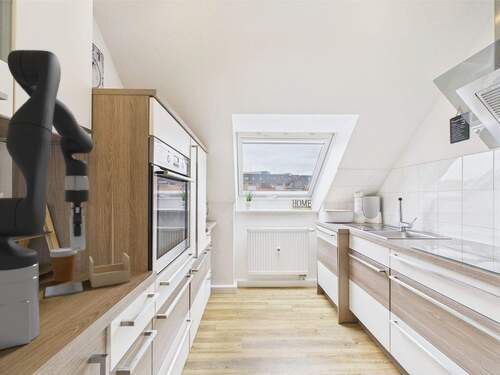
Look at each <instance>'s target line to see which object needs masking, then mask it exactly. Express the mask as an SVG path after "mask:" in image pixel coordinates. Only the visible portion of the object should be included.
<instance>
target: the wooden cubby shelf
mask: <svg viewBox="0 0 500 375" xmlns="http://www.w3.org/2000/svg"><path fill="white" fill-rule="evenodd" d="M88 259H89V260H88V261H89V264H88V265H89V268H88V273H89V277H88V279H89V282H90V285H91V288H92V289H93V288H99V287H105V286H111V285H118V284H123V283H129V282H131V265H130V264H131V262H130V260H131V259H130V256H129V255H128V254H126V252H122V262H121V263H113V264H107V265H106V264H105V265H98V266H94V260H93V258H92V256H89V258H88Z"/></svg>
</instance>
